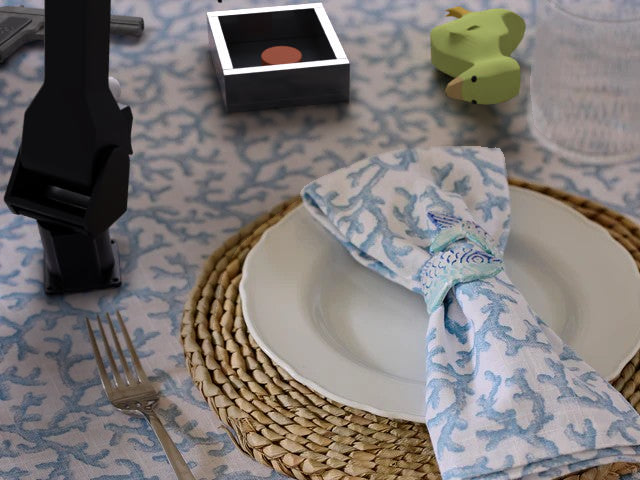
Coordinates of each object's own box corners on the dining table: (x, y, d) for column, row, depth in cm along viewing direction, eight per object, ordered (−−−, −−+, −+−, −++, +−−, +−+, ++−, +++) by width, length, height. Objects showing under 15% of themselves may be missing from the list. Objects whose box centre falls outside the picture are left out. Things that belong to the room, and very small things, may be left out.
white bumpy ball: (113, 110, 109) (109, 86, 107) (90, 104, 110) (85, 80, 108) (128, 97, 111) (124, 73, 109) (105, 92, 112) (101, 68, 110)
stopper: (305, 88, 111) (305, 63, 109) (266, 92, 110) (264, 67, 108) (298, 69, 114) (297, 44, 112) (259, 72, 113) (258, 47, 111)
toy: (373, 15, 117) (457, 71, 102) (498, -14, 121) (596, 36, 107) (376, 68, 120) (458, 129, 106) (497, 37, 125) (592, 92, 110)
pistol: (116, 58, 114) (146, 12, 122) (-41, 44, 115) (-1, -1, 124) (118, 74, 115) (148, 27, 124) (-37, 60, 116) (3, 14, 125)
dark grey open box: (349, 100, 112) (350, 63, 109) (227, 113, 109) (224, 75, 106) (321, 38, 122) (321, 2, 119) (209, 48, 120) (206, 12, 117)
